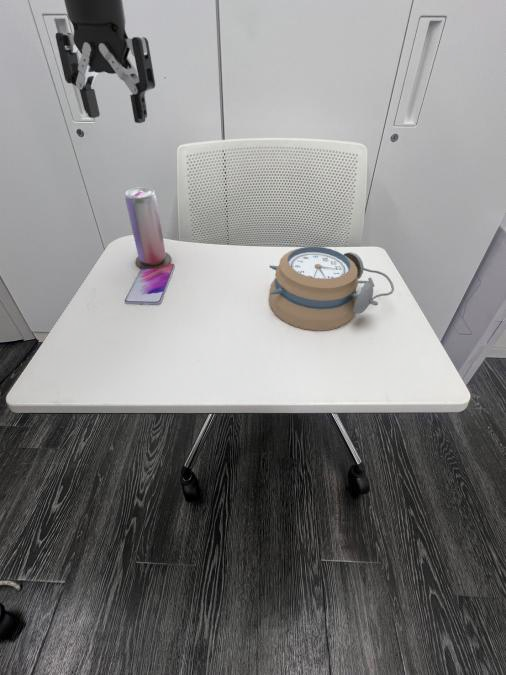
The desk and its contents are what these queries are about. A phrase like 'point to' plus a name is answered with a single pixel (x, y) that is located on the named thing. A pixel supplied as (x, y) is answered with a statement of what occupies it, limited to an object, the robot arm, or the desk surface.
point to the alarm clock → (320, 288)
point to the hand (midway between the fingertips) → (117, 119)
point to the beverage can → (146, 225)
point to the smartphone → (150, 286)
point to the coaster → (141, 265)
